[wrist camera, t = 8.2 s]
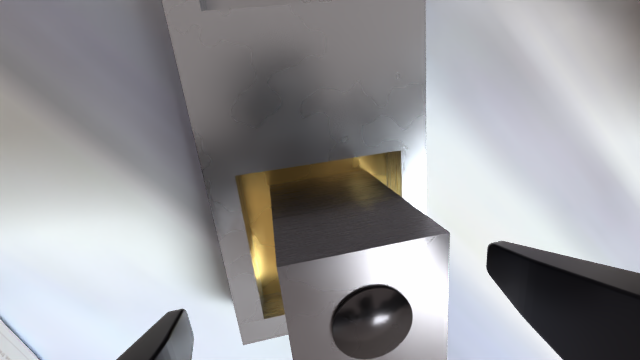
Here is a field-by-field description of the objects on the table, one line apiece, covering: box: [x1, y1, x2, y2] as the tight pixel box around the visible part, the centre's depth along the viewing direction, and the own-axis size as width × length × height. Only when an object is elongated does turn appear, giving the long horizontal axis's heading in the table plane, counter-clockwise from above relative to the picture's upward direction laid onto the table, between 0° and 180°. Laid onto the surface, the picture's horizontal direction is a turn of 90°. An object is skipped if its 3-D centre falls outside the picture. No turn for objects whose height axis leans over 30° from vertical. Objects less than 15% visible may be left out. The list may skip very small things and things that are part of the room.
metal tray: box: [162, 0, 426, 345], centre depth 11 cm, size 8×20×2 cm, turn 6°
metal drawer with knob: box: [269, 170, 450, 360], centre depth 10 cm, size 4×4×6 cm
